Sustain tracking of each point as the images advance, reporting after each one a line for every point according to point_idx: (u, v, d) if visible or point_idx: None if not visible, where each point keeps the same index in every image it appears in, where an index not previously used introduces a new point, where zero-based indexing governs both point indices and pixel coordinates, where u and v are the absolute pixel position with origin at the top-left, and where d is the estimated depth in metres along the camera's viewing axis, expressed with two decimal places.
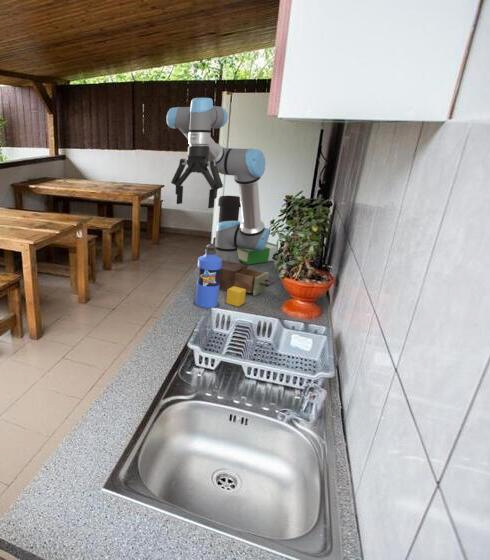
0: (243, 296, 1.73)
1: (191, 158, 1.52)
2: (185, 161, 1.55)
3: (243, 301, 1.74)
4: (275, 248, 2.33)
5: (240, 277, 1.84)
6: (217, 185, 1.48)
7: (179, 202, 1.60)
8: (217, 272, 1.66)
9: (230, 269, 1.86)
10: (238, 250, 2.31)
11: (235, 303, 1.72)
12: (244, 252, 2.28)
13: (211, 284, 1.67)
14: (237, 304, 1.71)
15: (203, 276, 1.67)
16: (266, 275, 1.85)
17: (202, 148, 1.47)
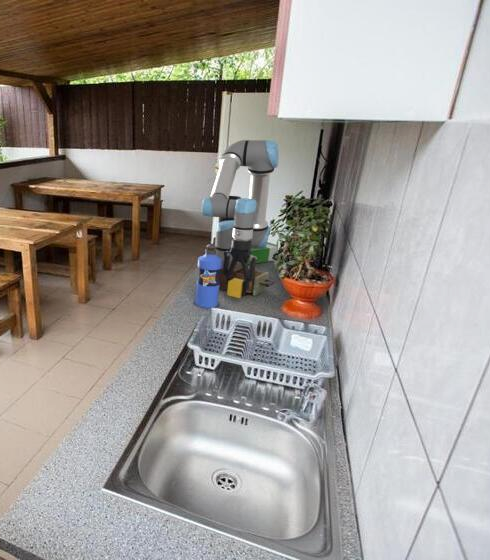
0: None
1: (234, 249, 1.68)
2: (228, 252, 1.71)
3: None
4: (275, 248, 2.33)
5: (240, 277, 1.84)
6: (250, 279, 1.67)
7: None
8: (217, 272, 1.66)
9: None
10: None
11: (236, 295, 1.71)
12: None
13: (211, 284, 1.67)
14: (238, 296, 1.70)
15: (203, 276, 1.67)
16: (266, 275, 1.85)
17: (246, 243, 1.63)
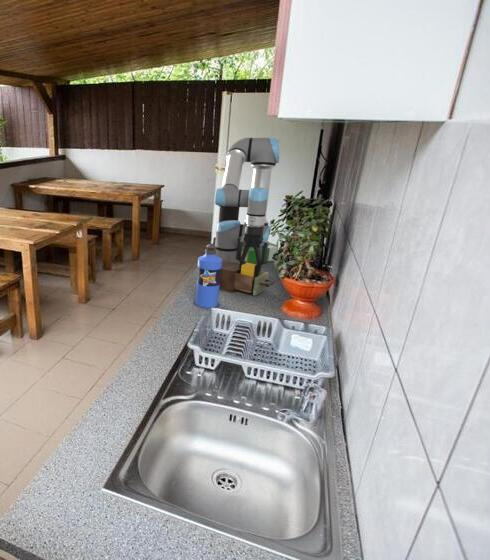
0: None
1: (248, 235, 1.81)
2: (242, 238, 1.84)
3: None
4: (275, 248, 2.33)
5: (240, 277, 1.84)
6: (262, 262, 1.79)
7: None
8: (217, 272, 1.66)
9: (230, 269, 1.86)
10: None
11: None
12: None
13: (211, 284, 1.67)
14: None
15: (203, 276, 1.67)
16: (266, 275, 1.85)
17: (258, 229, 1.76)
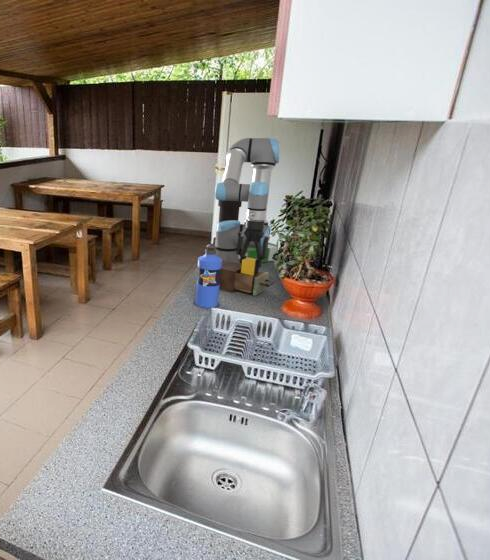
0: None
1: (248, 230, 1.80)
2: (242, 233, 1.83)
3: None
4: (275, 248, 2.33)
5: (240, 277, 1.84)
6: (263, 257, 1.79)
7: None
8: (217, 272, 1.66)
9: (230, 269, 1.86)
10: None
11: (249, 272, 1.83)
12: None
13: (211, 284, 1.67)
14: (251, 273, 1.82)
15: (203, 276, 1.67)
16: (266, 275, 1.85)
17: (259, 223, 1.75)
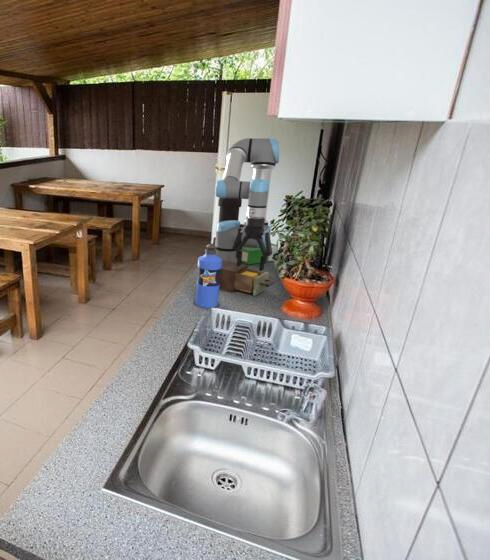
0: None
1: (248, 227, 1.80)
2: (242, 229, 1.83)
3: None
4: (275, 248, 2.33)
5: (240, 277, 1.84)
6: (268, 253, 1.77)
7: (239, 264, 1.88)
8: (217, 272, 1.66)
9: (230, 269, 1.86)
10: None
11: None
12: (244, 252, 2.28)
13: (211, 284, 1.67)
14: None
15: (203, 276, 1.67)
16: (266, 275, 1.85)
17: (259, 220, 1.75)
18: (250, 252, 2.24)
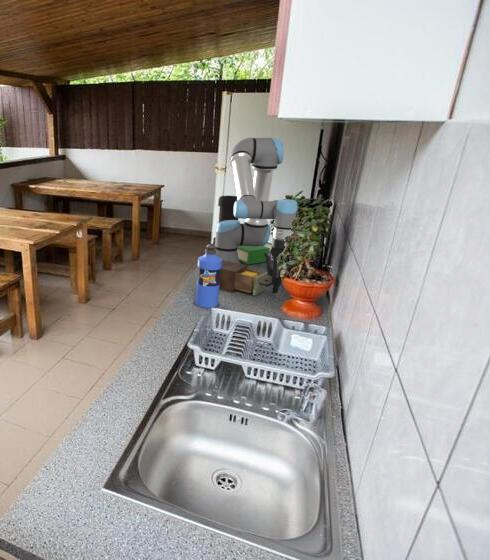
0: None
1: (275, 248, 1.75)
2: (269, 252, 1.77)
3: None
4: None
5: (240, 277, 1.84)
6: None
7: None
8: (217, 272, 1.66)
9: (230, 269, 1.86)
10: (238, 250, 2.31)
11: None
12: (244, 252, 2.28)
13: (211, 284, 1.67)
14: None
15: (203, 276, 1.67)
16: (266, 275, 1.85)
17: None
18: (250, 252, 2.24)
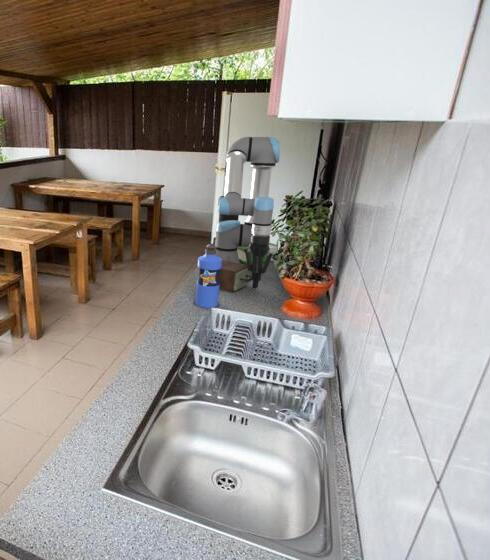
0: None
1: (254, 244, 1.80)
2: (248, 248, 1.83)
3: None
4: (275, 248, 2.33)
5: None
6: (262, 271, 1.81)
7: None
8: (217, 272, 1.66)
9: (230, 269, 1.86)
10: (238, 250, 2.31)
11: None
12: (244, 252, 2.28)
13: (211, 284, 1.67)
14: None
15: (203, 276, 1.67)
16: (247, 271, 1.90)
17: (265, 238, 1.75)
18: (250, 252, 2.24)
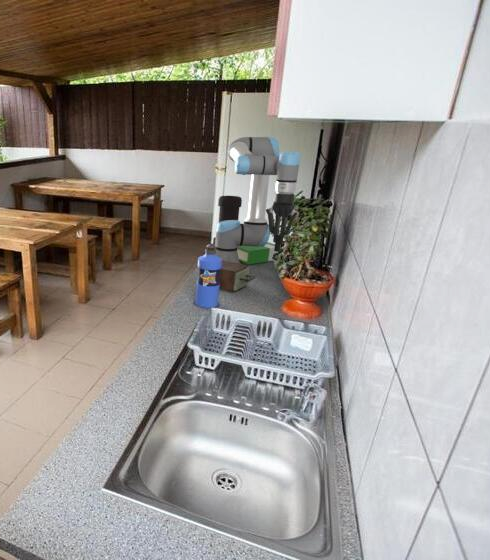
0: None
1: (277, 204, 1.70)
2: (271, 209, 1.72)
3: None
4: None
5: None
6: (286, 232, 1.70)
7: None
8: (217, 272, 1.66)
9: (230, 269, 1.86)
10: (238, 250, 2.31)
11: None
12: (244, 252, 2.28)
13: (211, 284, 1.67)
14: None
15: (203, 276, 1.67)
16: (247, 271, 1.90)
17: (289, 196, 1.65)
18: (250, 252, 2.24)
